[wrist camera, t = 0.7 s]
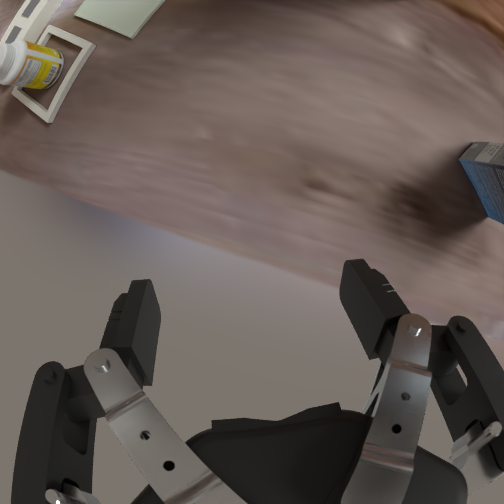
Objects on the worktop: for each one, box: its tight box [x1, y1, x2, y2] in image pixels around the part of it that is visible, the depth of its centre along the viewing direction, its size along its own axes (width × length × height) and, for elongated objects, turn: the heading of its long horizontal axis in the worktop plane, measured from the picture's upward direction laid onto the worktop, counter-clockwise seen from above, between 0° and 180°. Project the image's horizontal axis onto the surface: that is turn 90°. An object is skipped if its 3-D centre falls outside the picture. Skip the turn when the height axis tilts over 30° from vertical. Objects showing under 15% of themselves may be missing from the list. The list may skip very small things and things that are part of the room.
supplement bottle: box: [0, 40, 64, 89], centre depth 19 cm, size 6×6×10 cm
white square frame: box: [11, 25, 97, 123], centre depth 24 cm, size 11×11×1 cm
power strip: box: [0, 0, 64, 44], centre depth 19 cm, size 22×10×3 cm, turn 143°
